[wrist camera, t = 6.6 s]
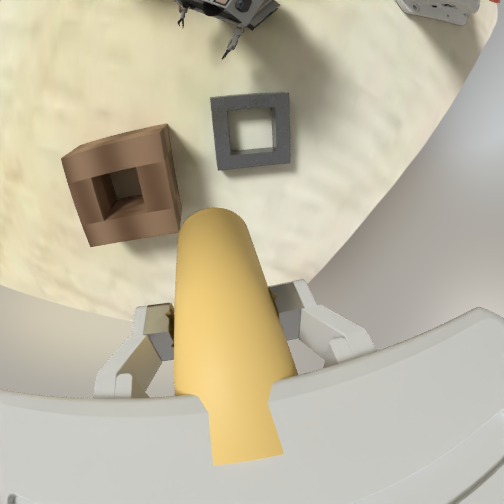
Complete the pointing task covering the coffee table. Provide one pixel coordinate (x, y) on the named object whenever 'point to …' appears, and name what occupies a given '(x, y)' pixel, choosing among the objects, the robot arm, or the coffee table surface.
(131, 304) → the coffee table surface
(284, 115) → the collar
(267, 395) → the pin
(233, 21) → the figurine
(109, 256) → the coffee table surface
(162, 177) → the socket
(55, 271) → the coffee table surface
